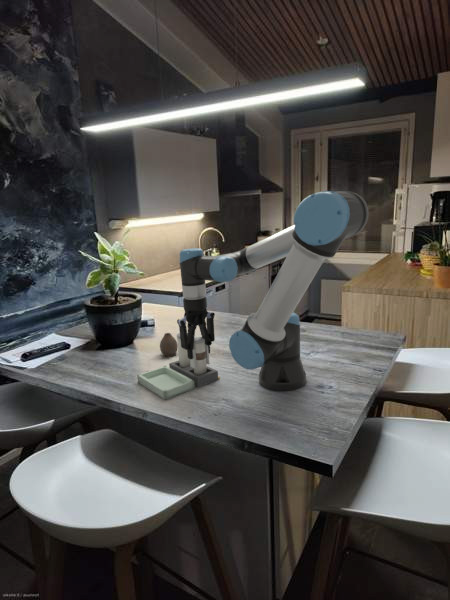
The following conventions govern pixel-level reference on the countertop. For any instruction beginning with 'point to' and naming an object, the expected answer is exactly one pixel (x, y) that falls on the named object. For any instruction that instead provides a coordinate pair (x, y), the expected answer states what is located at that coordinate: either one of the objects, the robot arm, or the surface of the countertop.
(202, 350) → the cylinder
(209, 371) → the fuse block
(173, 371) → the tray
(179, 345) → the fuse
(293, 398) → the countertop surface
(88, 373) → the countertop surface
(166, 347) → the vase
